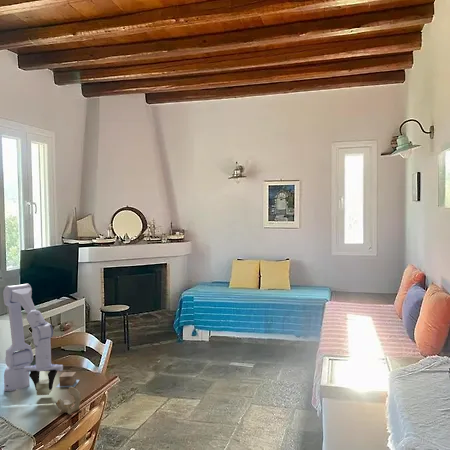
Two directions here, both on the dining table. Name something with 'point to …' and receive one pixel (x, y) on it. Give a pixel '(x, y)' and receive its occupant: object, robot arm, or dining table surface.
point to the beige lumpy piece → (67, 404)
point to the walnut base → (67, 378)
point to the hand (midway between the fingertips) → (44, 389)
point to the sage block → (43, 387)
